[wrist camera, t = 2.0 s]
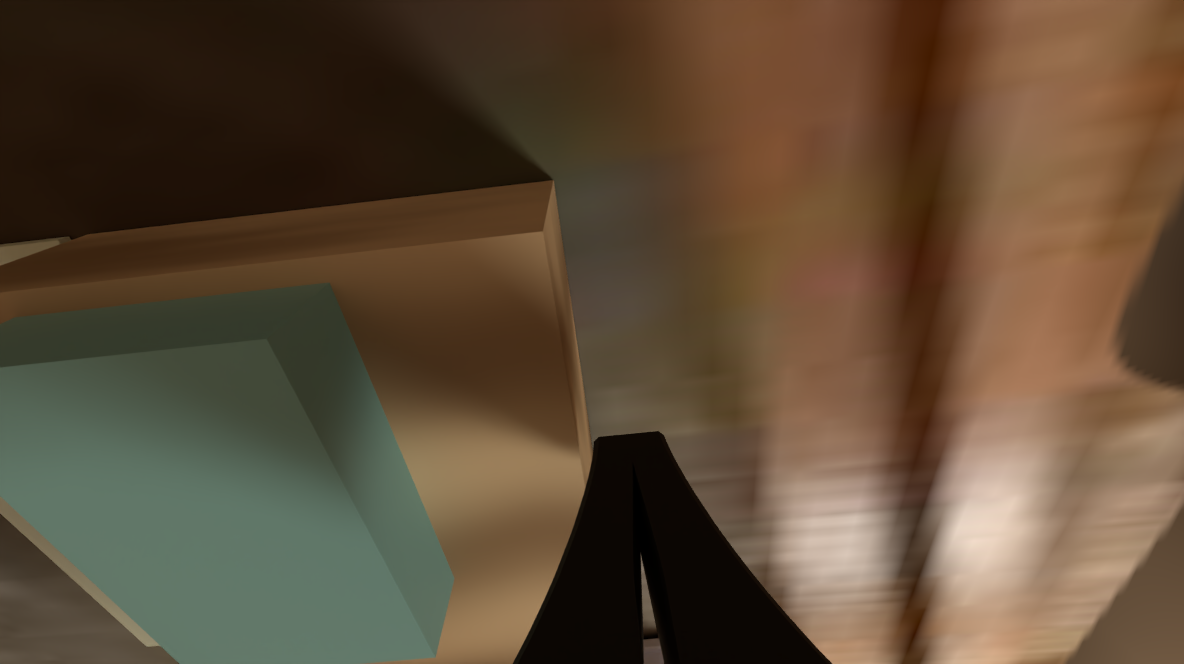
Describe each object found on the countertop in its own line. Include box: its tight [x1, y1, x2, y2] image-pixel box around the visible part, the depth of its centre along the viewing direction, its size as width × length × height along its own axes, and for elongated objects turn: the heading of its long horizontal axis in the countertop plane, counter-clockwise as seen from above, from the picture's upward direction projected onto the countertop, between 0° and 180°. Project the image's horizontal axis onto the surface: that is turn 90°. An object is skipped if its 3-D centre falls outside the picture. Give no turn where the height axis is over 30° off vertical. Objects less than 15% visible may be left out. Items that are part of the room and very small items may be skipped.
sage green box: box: [0, 282, 454, 664], centre depth 10 cm, size 9×6×2 cm, turn 6°
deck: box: [0, 180, 593, 664], centre depth 15 cm, size 18×12×4 cm, turn 6°
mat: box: [0, 237, 160, 647], centre depth 17 cm, size 18×8×1 cm, turn 6°
